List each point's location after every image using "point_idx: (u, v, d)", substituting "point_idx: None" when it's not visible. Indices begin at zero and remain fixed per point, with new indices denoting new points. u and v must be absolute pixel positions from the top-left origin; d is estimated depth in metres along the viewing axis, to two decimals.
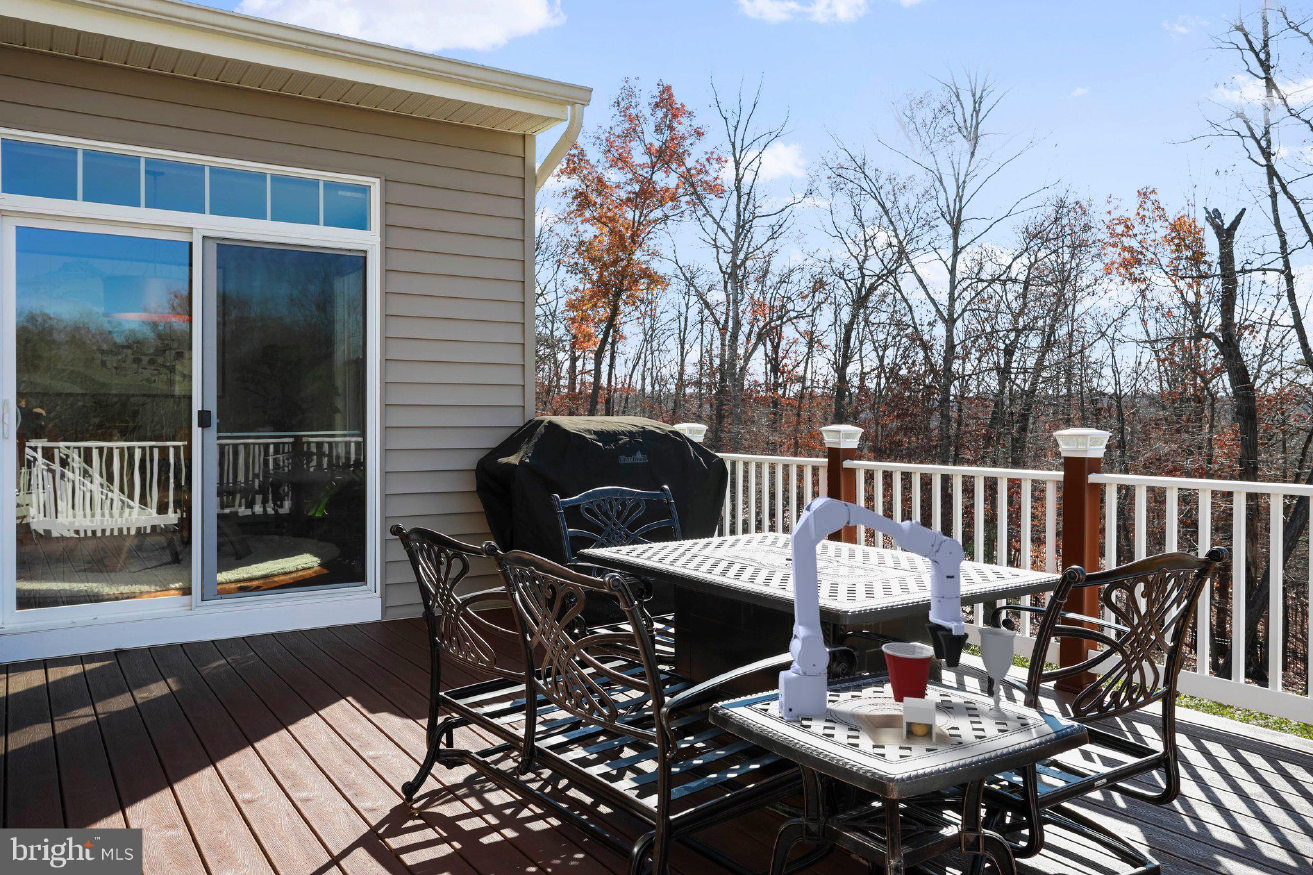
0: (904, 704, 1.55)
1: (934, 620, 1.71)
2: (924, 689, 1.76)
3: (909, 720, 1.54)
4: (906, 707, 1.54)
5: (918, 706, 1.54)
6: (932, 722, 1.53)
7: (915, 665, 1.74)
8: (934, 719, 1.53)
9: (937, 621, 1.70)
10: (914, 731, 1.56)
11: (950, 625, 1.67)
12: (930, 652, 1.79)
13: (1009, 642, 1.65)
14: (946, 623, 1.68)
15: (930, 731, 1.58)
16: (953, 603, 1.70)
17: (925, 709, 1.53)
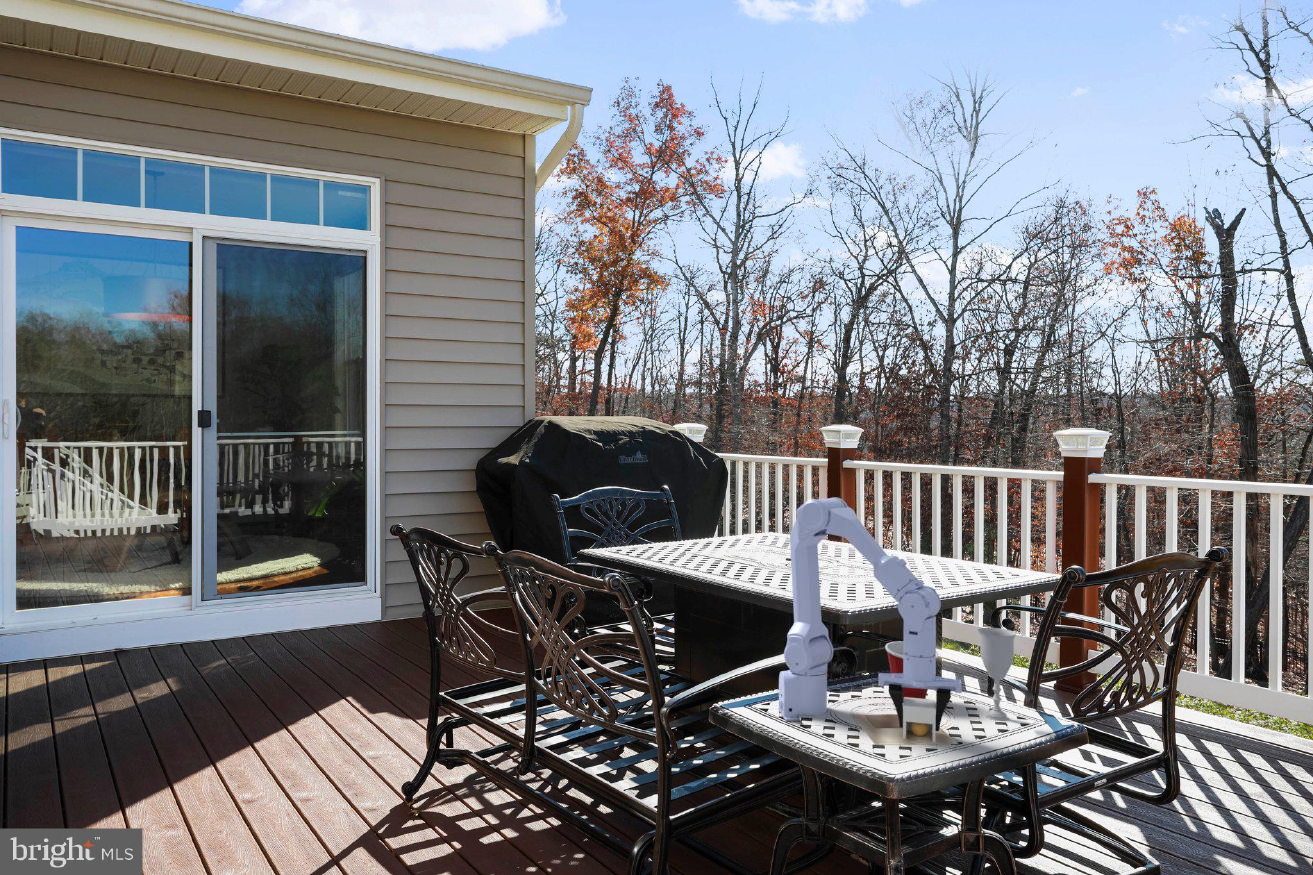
0: (904, 704, 1.55)
1: None
2: (925, 690, 1.76)
3: (909, 720, 1.54)
4: (906, 707, 1.54)
5: (918, 706, 1.54)
6: (932, 722, 1.53)
7: None
8: (934, 719, 1.53)
9: None
10: (914, 731, 1.56)
11: None
12: None
13: (1009, 642, 1.65)
14: None
15: (930, 731, 1.58)
16: (903, 659, 1.57)
17: (925, 709, 1.53)
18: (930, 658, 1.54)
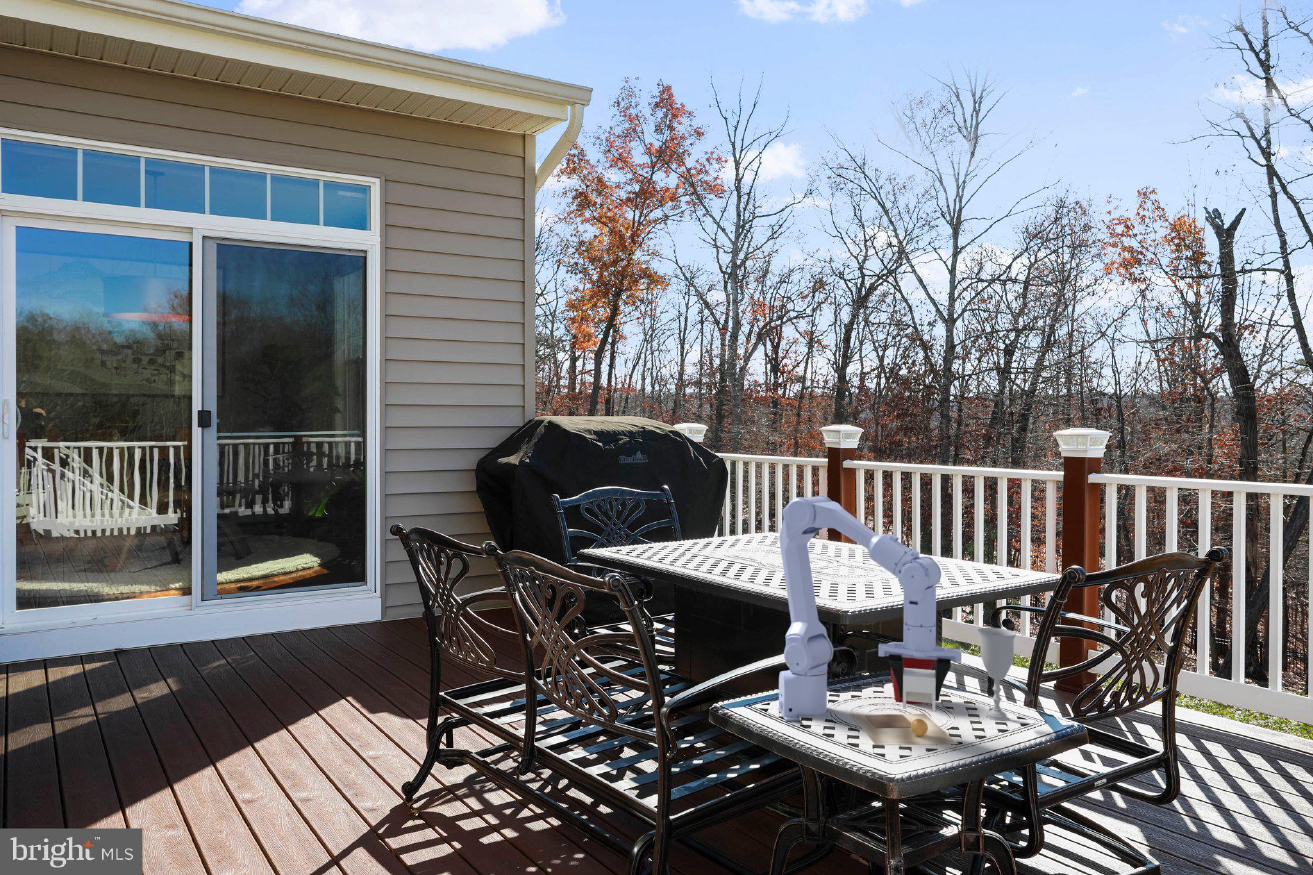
0: (904, 674, 1.55)
1: None
2: None
3: (909, 690, 1.54)
4: (906, 677, 1.54)
5: (918, 676, 1.54)
6: (932, 692, 1.53)
7: (919, 666, 1.74)
8: (934, 689, 1.53)
9: None
10: (914, 731, 1.56)
11: None
12: None
13: (1009, 642, 1.65)
14: None
15: (930, 701, 1.58)
16: (903, 629, 1.57)
17: (925, 679, 1.53)
18: (930, 628, 1.54)
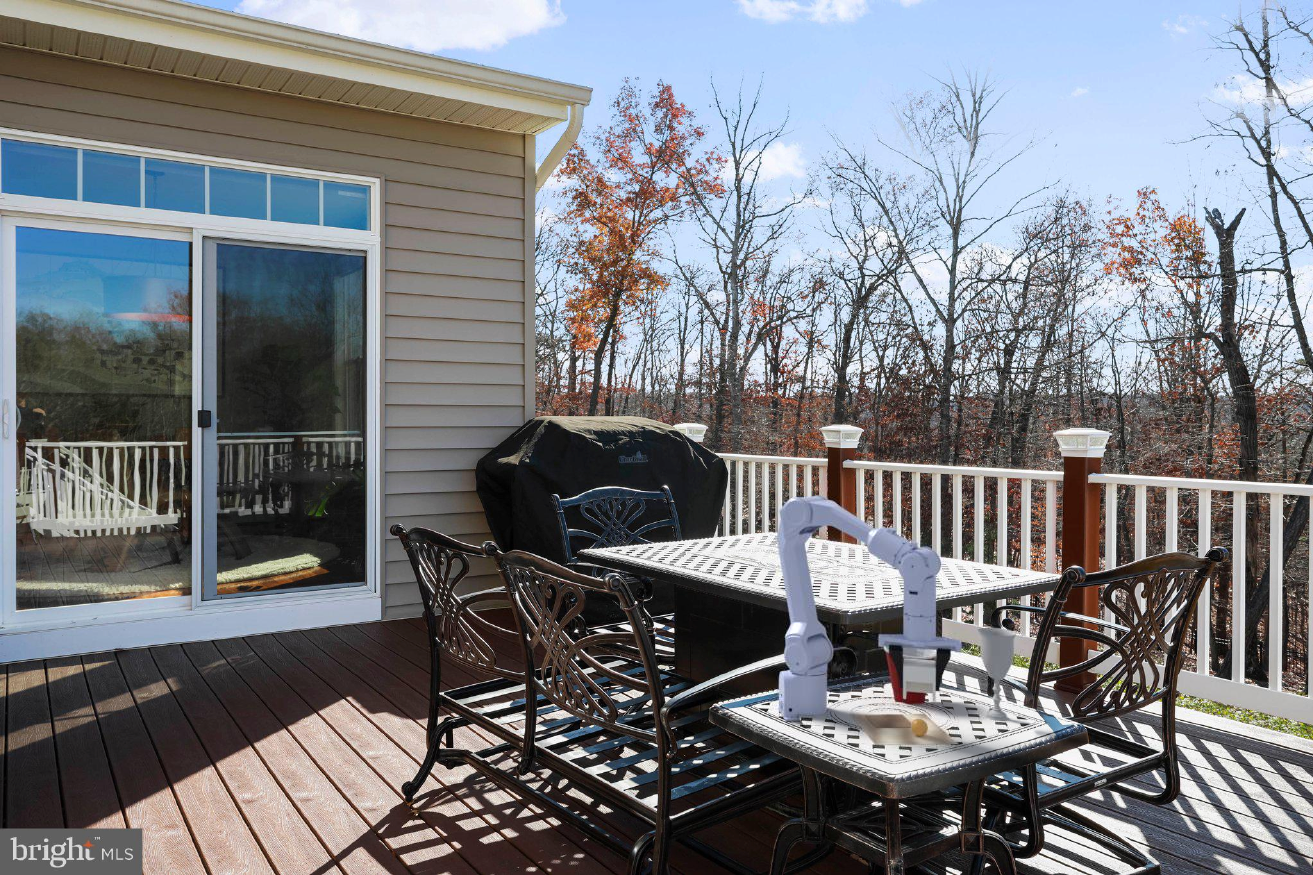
0: (904, 664, 1.55)
1: None
2: None
3: (909, 680, 1.54)
4: (906, 667, 1.54)
5: (918, 666, 1.54)
6: (932, 681, 1.53)
7: None
8: (934, 678, 1.53)
9: None
10: (914, 731, 1.56)
11: None
12: (931, 653, 1.79)
13: (1009, 642, 1.65)
14: None
15: (930, 692, 1.58)
16: (903, 619, 1.57)
17: (925, 669, 1.53)
18: (930, 618, 1.54)
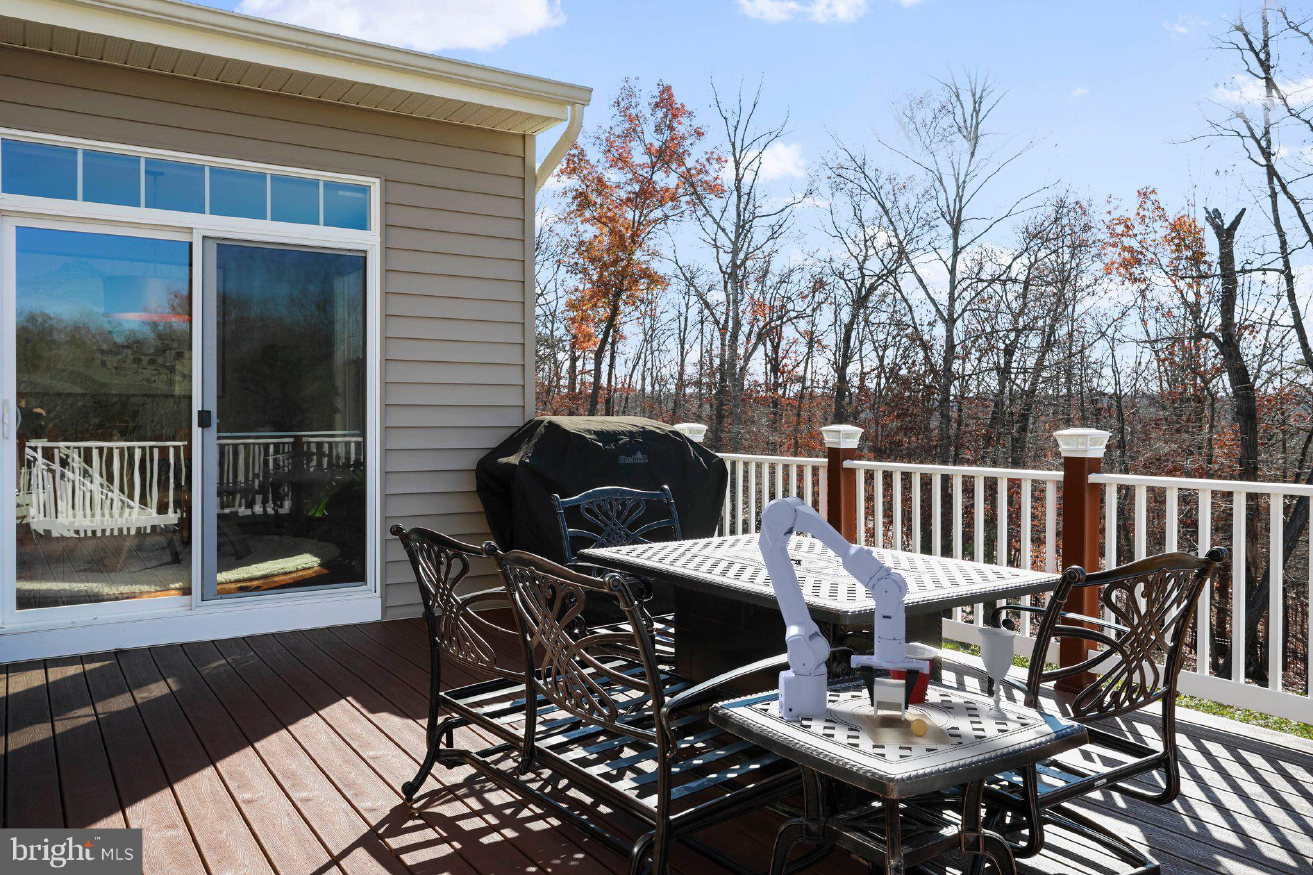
0: (875, 684, 1.63)
1: None
2: (925, 690, 1.76)
3: (879, 699, 1.62)
4: (877, 687, 1.62)
5: (888, 686, 1.62)
6: (901, 701, 1.61)
7: None
8: (903, 698, 1.61)
9: None
10: (914, 731, 1.56)
11: None
12: (932, 653, 1.79)
13: (1009, 642, 1.65)
14: None
15: (900, 710, 1.66)
16: None
17: (894, 689, 1.61)
18: (899, 640, 1.62)
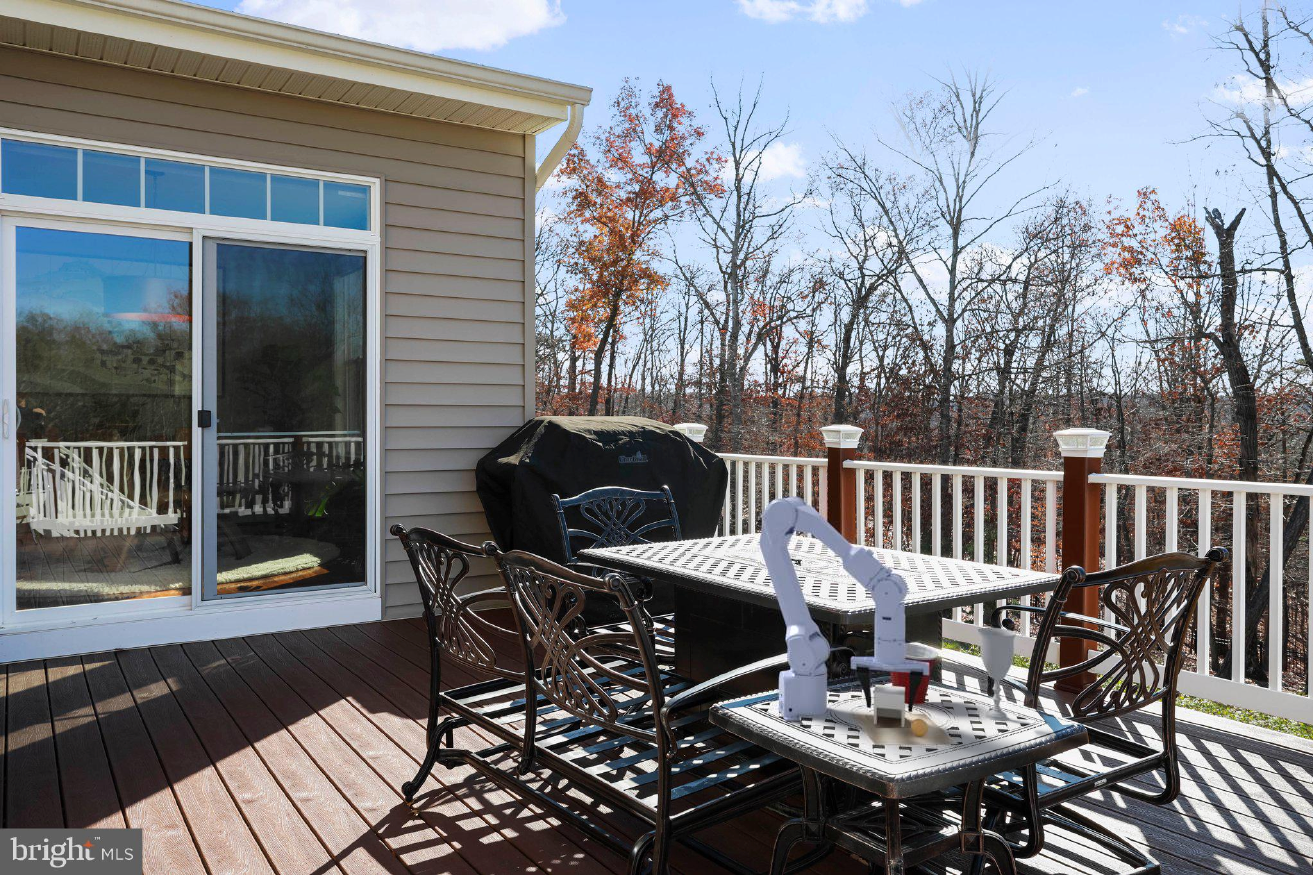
0: (875, 691, 1.63)
1: None
2: (926, 690, 1.76)
3: (879, 706, 1.62)
4: (877, 694, 1.62)
5: (888, 693, 1.62)
6: (901, 708, 1.61)
7: None
8: (903, 705, 1.61)
9: None
10: (914, 731, 1.56)
11: None
12: (933, 653, 1.79)
13: (1009, 642, 1.65)
14: None
15: (900, 717, 1.66)
16: None
17: (894, 695, 1.61)
18: (899, 642, 1.62)
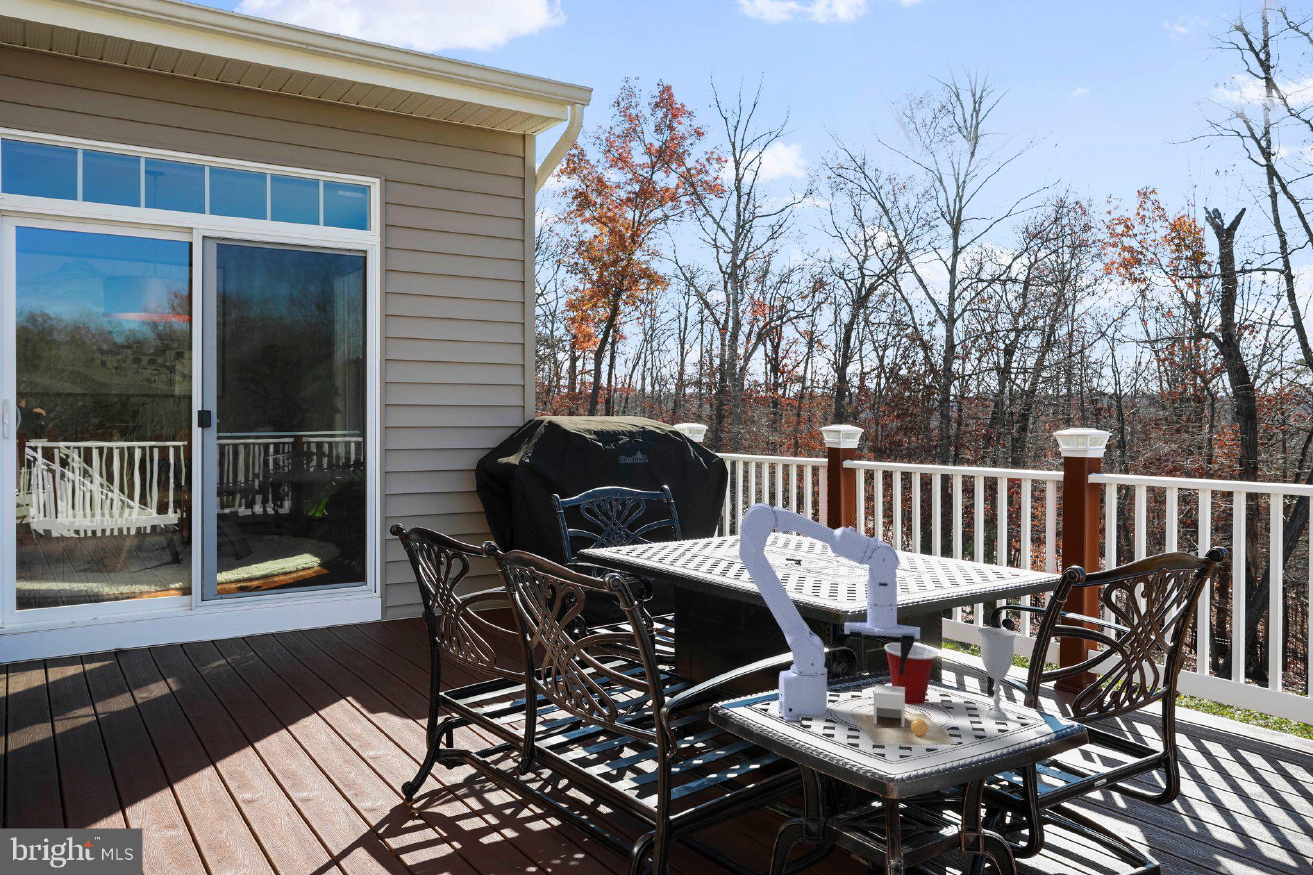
0: (875, 691, 1.63)
1: None
2: (925, 690, 1.76)
3: (879, 706, 1.62)
4: (877, 694, 1.62)
5: (888, 693, 1.62)
6: (901, 708, 1.61)
7: (918, 666, 1.74)
8: (903, 705, 1.61)
9: None
10: (914, 731, 1.56)
11: None
12: (932, 653, 1.79)
13: (1009, 642, 1.65)
14: None
15: (900, 717, 1.66)
16: (867, 608, 1.70)
17: (894, 695, 1.61)
18: (891, 607, 1.67)
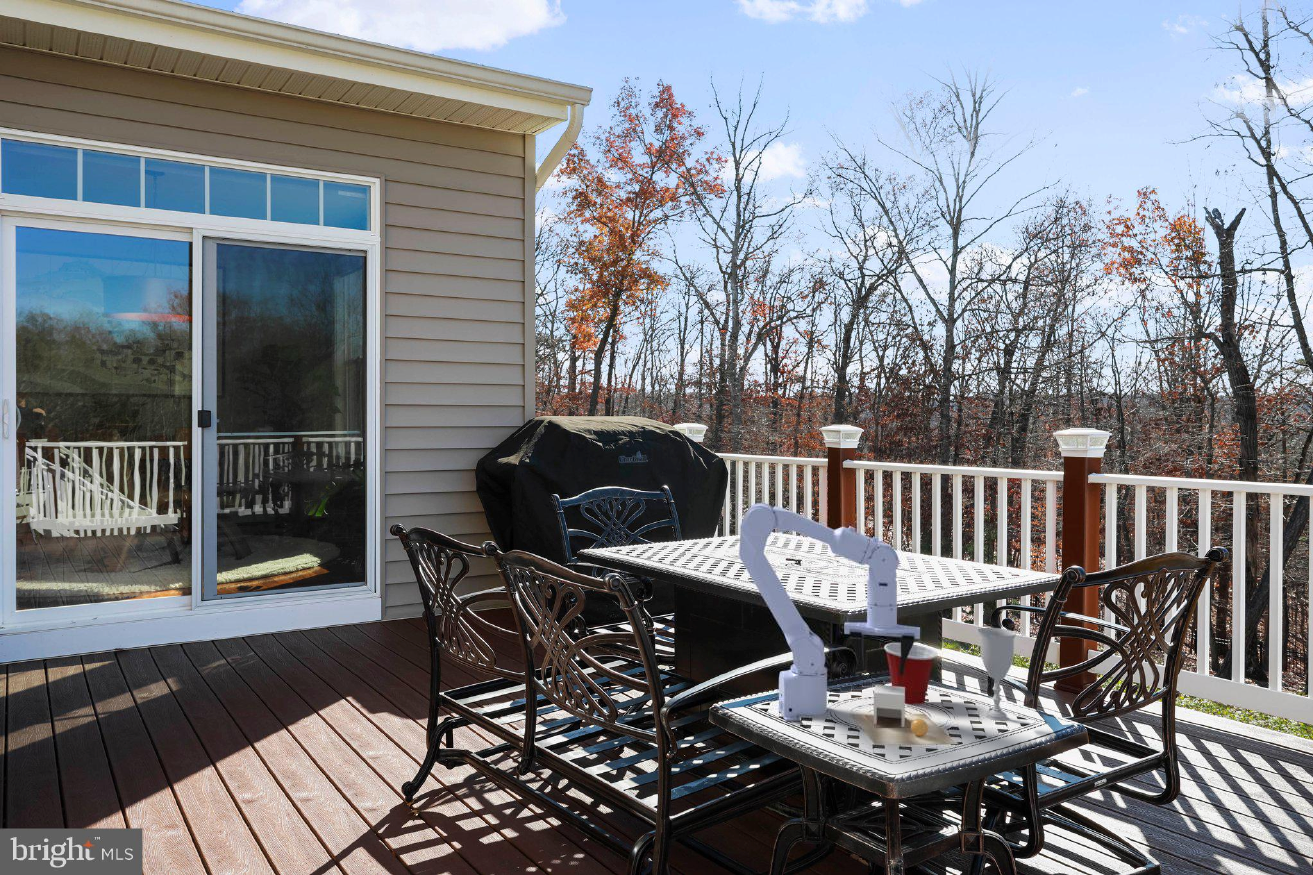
0: (875, 691, 1.63)
1: None
2: (925, 690, 1.76)
3: (879, 706, 1.62)
4: (877, 694, 1.62)
5: (888, 693, 1.62)
6: (901, 708, 1.61)
7: (918, 666, 1.74)
8: (903, 705, 1.61)
9: None
10: (914, 731, 1.56)
11: None
12: (932, 653, 1.79)
13: (1009, 642, 1.65)
14: None
15: (900, 717, 1.66)
16: (867, 608, 1.70)
17: (894, 695, 1.61)
18: (891, 607, 1.67)
